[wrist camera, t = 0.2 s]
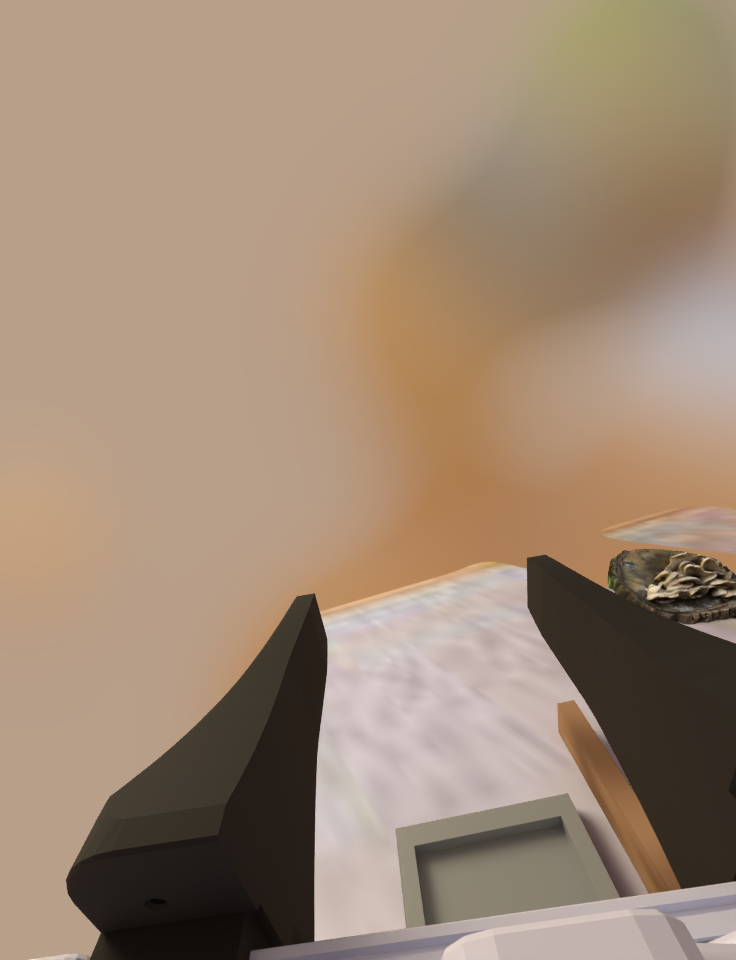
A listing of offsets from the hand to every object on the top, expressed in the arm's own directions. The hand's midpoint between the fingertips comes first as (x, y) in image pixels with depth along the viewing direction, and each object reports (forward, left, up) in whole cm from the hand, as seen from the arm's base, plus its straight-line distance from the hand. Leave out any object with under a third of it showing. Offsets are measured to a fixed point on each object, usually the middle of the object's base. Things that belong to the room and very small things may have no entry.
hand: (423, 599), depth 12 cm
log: (+21, -27, -22) cm, 41 cm away
